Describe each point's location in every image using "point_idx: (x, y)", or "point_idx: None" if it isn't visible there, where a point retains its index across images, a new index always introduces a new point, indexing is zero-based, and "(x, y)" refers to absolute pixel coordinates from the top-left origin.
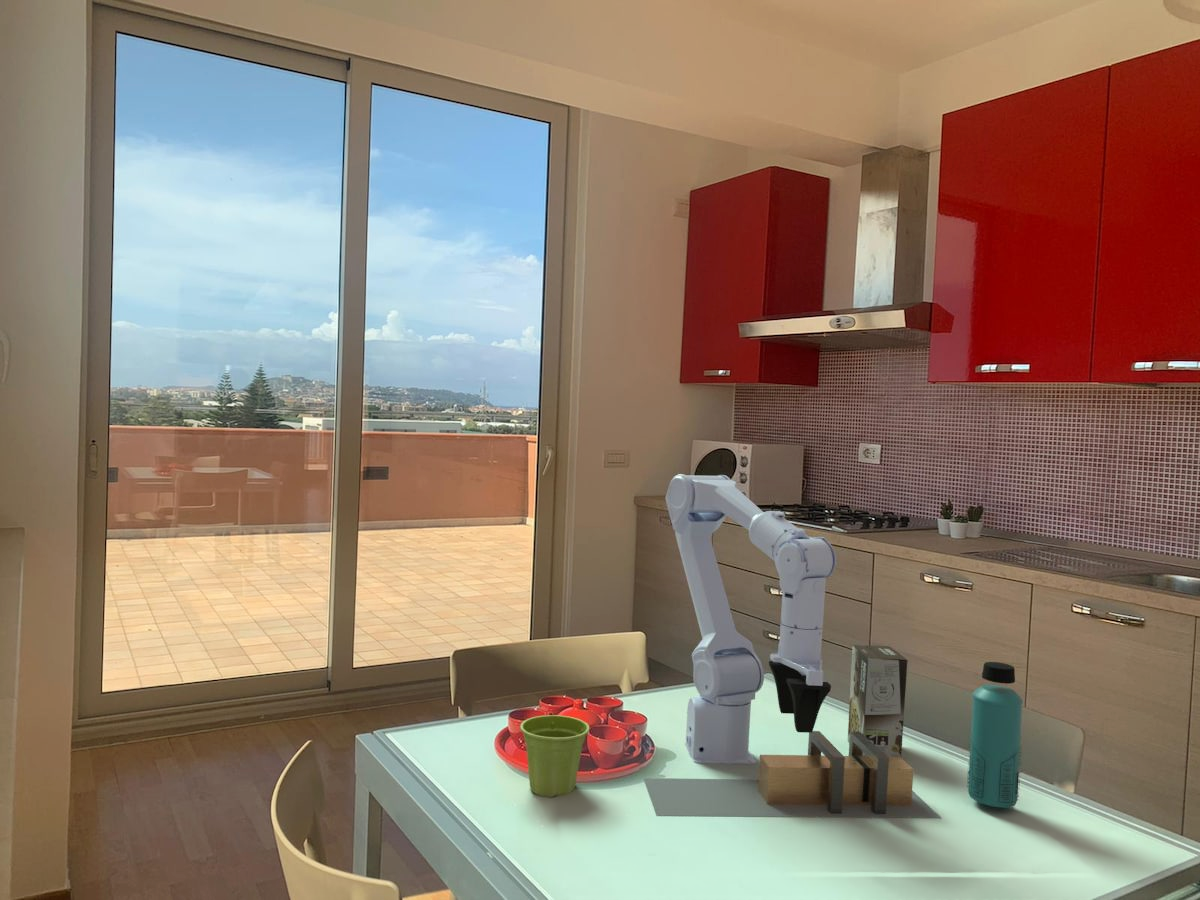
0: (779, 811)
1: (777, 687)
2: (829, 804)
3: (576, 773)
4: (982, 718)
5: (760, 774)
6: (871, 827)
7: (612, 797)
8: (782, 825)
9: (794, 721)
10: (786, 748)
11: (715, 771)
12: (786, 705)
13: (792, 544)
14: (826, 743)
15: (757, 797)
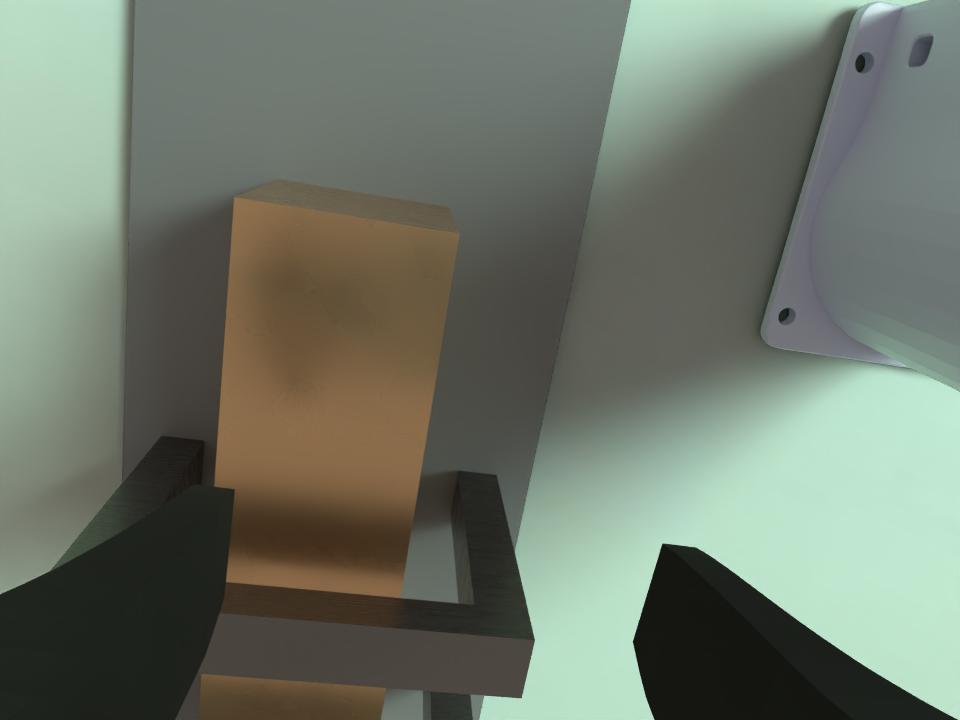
0: (193, 206)
1: (814, 664)
2: (170, 452)
3: None
4: None
5: (422, 213)
6: (60, 547)
7: None
8: (75, 164)
9: (208, 511)
10: (902, 561)
11: (748, 95)
12: (678, 620)
13: None
14: (291, 652)
15: (365, 165)
